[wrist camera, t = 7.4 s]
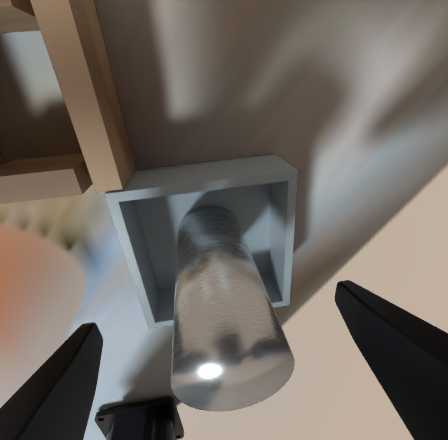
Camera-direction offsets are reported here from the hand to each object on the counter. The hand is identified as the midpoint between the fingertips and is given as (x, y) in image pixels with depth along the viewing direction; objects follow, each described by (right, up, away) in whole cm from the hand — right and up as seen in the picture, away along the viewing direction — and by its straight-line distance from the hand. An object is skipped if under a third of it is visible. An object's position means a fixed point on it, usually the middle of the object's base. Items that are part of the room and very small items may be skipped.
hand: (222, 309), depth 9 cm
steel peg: (-1, +3, +5) cm, 6 cm away
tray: (-1, +3, +5) cm, 6 cm away
